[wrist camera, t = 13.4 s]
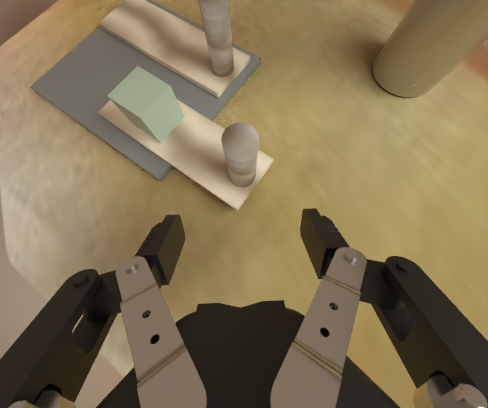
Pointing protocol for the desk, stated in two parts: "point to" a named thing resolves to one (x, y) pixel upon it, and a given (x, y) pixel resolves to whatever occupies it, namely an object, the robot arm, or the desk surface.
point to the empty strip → (182, 41)
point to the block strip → (205, 152)
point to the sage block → (148, 103)
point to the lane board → (110, 76)
